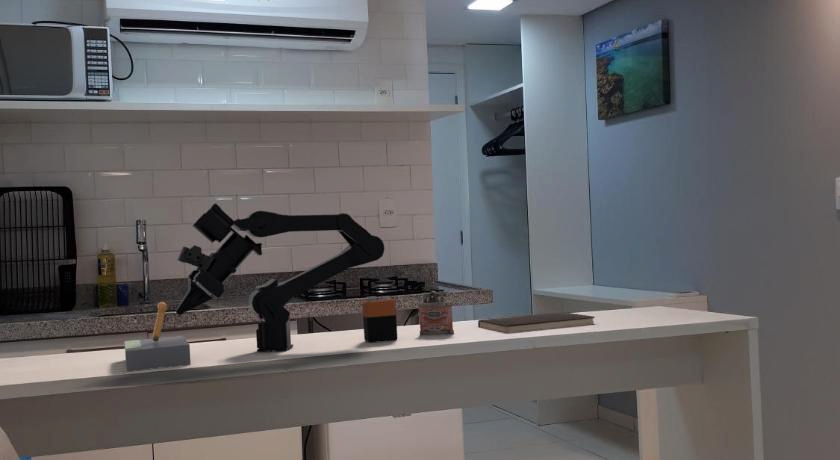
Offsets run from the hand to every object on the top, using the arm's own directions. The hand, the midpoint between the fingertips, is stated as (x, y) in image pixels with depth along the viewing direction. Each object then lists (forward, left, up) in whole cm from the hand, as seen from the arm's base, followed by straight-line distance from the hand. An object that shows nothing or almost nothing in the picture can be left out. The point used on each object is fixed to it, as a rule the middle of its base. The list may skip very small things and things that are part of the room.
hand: (177, 313), depth 168 cm
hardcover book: (-75, -33, -10) cm, 82 cm away
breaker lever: (+4, +2, -5) cm, 7 cm away
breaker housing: (+4, +2, -10) cm, 11 cm away
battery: (-40, -17, -10) cm, 44 cm away
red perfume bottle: (-52, -24, -10) cm, 58 cm away
